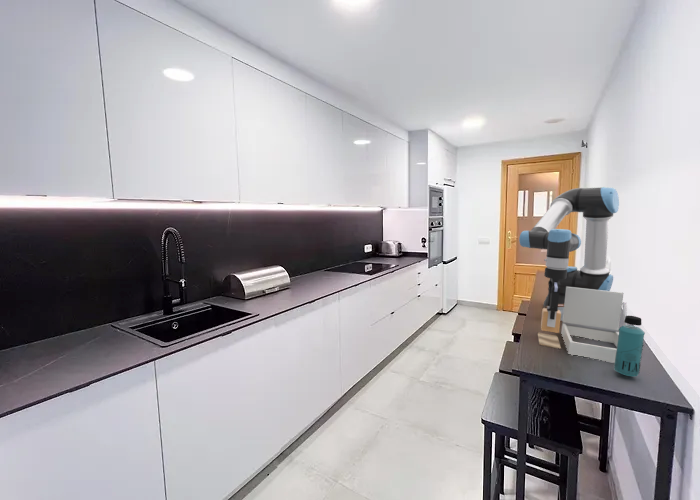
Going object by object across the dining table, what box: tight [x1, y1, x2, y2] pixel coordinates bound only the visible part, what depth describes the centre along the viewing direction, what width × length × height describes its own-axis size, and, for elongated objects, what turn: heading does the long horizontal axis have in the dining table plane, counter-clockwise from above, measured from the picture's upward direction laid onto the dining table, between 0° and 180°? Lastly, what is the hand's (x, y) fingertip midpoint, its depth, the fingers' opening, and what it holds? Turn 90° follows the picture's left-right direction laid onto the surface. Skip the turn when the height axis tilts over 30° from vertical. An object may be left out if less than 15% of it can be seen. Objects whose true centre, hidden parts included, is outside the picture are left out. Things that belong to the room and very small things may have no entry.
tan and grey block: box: [540, 307, 561, 334], centre depth 133 cm, size 5×6×8 cm
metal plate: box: [537, 332, 562, 350], centre depth 134 cm, size 14×7×1 cm, turn 153°
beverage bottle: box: [614, 315, 645, 377], centre depth 105 cm, size 6×7×20 cm
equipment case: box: [560, 287, 629, 364], centre depth 126 cm, size 23×21×21 cm
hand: (550, 324), depth 133 cm, fingers closed on tan and grey block, 5 cm apart
